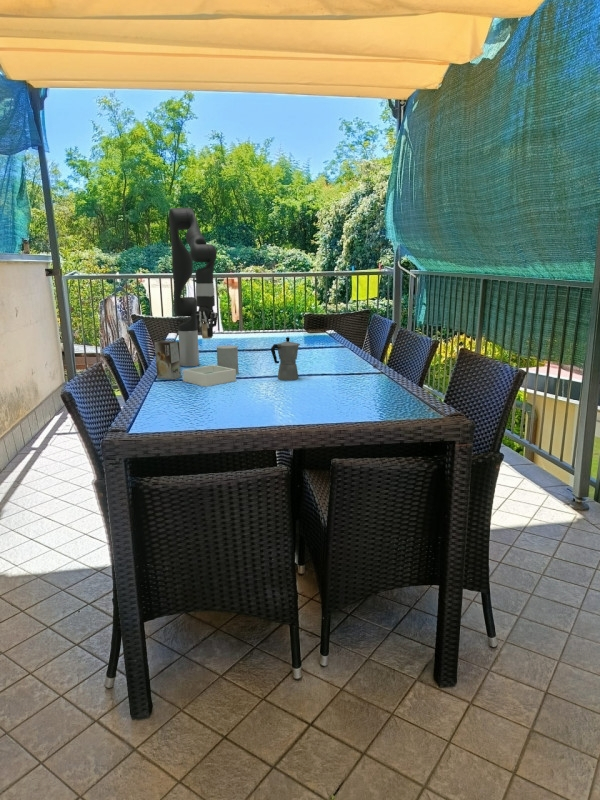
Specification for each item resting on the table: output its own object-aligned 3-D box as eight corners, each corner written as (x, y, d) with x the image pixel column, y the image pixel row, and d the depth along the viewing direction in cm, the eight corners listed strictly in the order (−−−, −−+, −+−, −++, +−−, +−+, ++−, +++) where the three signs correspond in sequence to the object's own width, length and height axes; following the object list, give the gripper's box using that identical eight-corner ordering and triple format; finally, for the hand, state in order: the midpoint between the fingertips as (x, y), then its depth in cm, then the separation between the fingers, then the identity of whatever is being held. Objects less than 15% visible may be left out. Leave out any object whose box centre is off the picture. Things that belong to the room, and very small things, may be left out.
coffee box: (182, 377, 243) (180, 341, 239) (172, 379, 238) (170, 342, 234) (166, 375, 247) (163, 339, 243) (156, 378, 242) (153, 341, 238)
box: (183, 381, 235) (182, 369, 234) (213, 375, 246) (213, 364, 245) (205, 386, 224) (204, 374, 223) (236, 380, 235) (235, 369, 233)
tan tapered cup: (200, 338, 230) (199, 323, 229) (208, 337, 233) (207, 323, 232) (205, 338, 228) (205, 324, 226) (213, 338, 230) (213, 323, 229)
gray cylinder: (231, 376, 245) (230, 348, 242) (213, 374, 249) (212, 347, 246) (242, 372, 253) (241, 346, 250) (225, 371, 257) (224, 344, 254)
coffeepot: (293, 375, 247) (292, 335, 243) (306, 378, 240) (306, 337, 236) (265, 379, 237) (264, 337, 233) (278, 383, 230) (277, 340, 226)
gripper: (187, 294, 228) (189, 335, 233) (207, 295, 219) (209, 338, 223) (202, 293, 234) (204, 334, 238) (223, 294, 224) (224, 337, 228)
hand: (207, 336), depth 230 cm, fingers closed on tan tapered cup, 4 cm apart
